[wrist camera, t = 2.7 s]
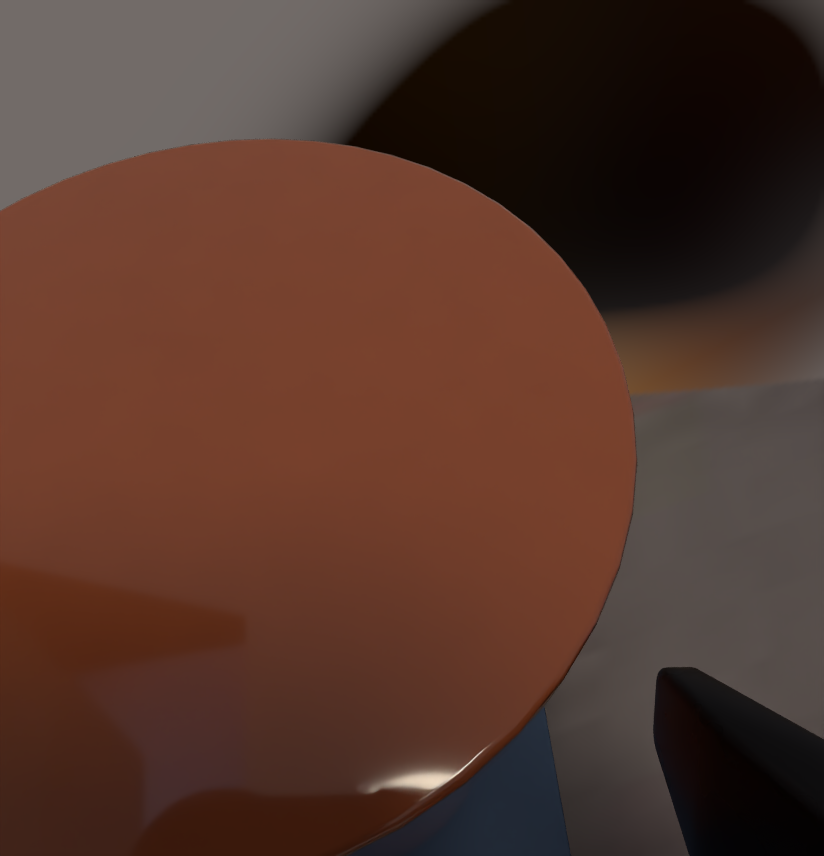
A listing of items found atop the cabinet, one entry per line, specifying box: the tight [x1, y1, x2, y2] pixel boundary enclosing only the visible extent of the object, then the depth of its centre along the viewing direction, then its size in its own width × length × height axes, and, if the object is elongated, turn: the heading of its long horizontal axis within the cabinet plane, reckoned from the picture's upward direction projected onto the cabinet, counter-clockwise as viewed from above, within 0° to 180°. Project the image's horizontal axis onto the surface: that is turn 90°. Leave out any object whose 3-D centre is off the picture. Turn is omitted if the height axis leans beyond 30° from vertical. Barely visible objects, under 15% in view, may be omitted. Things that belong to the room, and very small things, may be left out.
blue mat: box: [402, 707, 571, 856], centre depth 17 cm, size 9×9×1 cm
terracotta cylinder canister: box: [0, 139, 637, 856], centre depth 11 cm, size 7×7×13 cm
